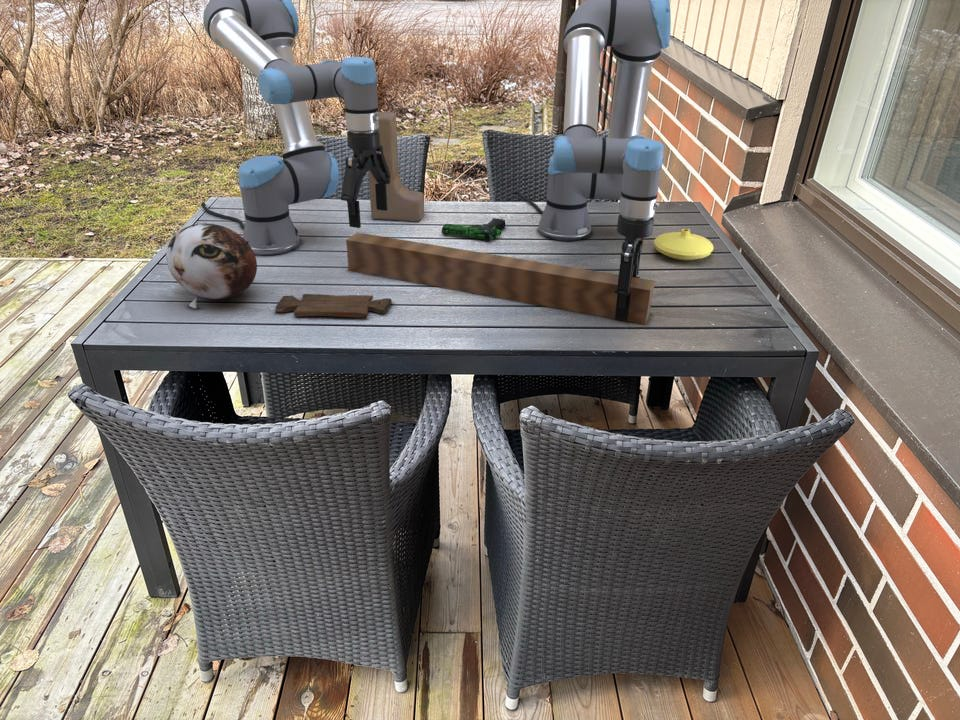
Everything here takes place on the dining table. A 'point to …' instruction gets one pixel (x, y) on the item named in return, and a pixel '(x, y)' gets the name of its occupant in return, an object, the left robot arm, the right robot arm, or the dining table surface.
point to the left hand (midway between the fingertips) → (369, 218)
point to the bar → (497, 276)
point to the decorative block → (394, 179)
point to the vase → (683, 245)
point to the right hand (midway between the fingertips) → (623, 312)
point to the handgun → (476, 230)
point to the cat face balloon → (211, 261)
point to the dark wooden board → (333, 305)
